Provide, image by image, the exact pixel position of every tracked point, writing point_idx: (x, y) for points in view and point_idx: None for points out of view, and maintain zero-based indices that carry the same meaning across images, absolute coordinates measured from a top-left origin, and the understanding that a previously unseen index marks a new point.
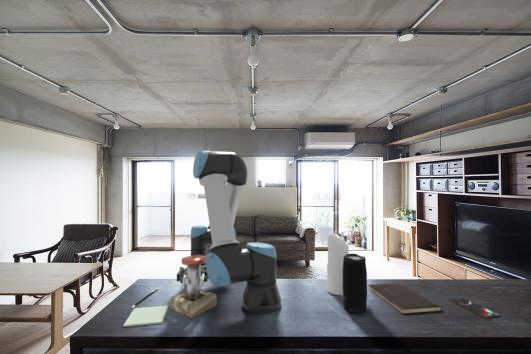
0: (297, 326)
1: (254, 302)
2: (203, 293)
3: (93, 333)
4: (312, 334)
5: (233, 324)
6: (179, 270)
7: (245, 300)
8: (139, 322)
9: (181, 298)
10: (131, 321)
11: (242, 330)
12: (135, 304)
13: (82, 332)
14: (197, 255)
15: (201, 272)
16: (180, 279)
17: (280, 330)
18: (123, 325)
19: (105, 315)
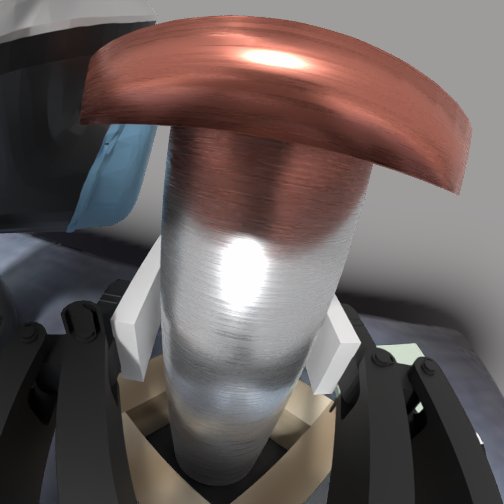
0: (4, 248)
1: (2, 280)
2: (147, 448)
3: (444, 332)
4: (12, 233)
5: (94, 291)
6: (492, 476)
7: (3, 307)
8: (387, 350)
9: (298, 411)
10: (411, 356)
11: (90, 269)
12: (482, 447)
13: (463, 336)
14: (254, 18)
15: (125, 499)
16: (349, 306)
17: (33, 249)
18: (414, 344)
19: (492, 391)
